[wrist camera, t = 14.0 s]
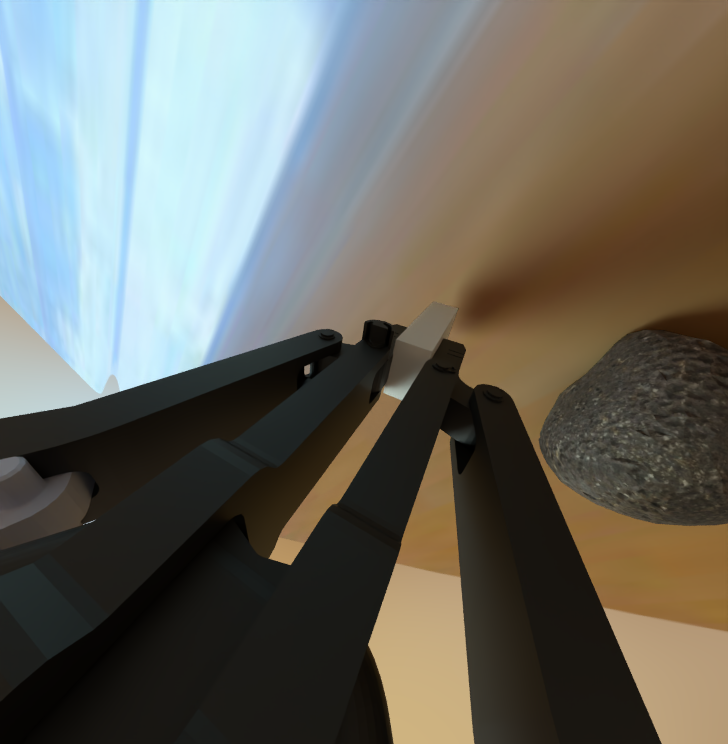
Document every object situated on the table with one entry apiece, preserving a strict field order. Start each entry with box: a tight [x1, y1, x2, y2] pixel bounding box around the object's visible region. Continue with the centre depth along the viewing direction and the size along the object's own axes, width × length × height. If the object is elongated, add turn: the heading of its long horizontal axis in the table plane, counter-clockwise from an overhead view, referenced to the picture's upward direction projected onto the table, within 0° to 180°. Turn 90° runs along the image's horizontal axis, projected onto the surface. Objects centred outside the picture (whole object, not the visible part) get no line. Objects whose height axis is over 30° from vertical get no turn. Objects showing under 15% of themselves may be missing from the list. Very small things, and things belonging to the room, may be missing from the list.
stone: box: [539, 330, 728, 526], centre depth 14 cm, size 10×8×10 cm
